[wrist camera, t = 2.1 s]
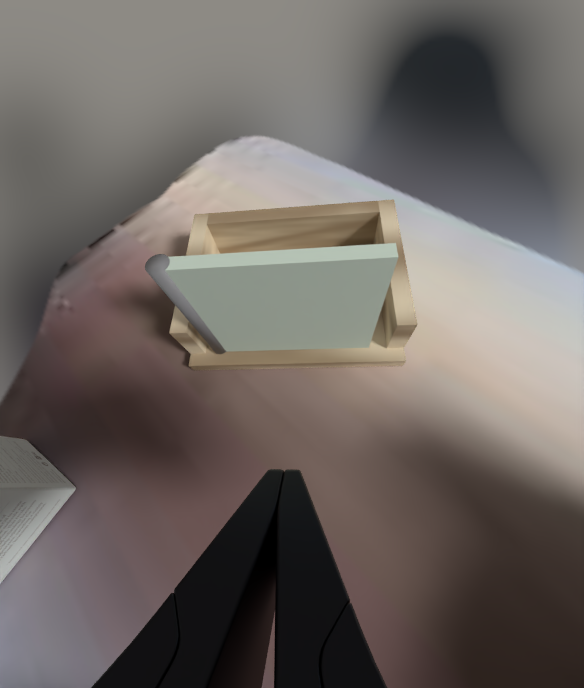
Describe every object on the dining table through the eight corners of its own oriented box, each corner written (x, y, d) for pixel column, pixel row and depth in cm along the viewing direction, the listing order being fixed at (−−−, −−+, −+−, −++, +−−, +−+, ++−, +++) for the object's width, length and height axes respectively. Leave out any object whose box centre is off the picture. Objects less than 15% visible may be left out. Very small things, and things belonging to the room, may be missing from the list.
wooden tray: (402, 365, 22) (420, 339, 18) (193, 370, 23) (166, 346, 19) (383, 242, 27) (393, 199, 23) (213, 252, 28) (194, 214, 24)
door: (369, 350, 21) (399, 260, 13) (212, 354, 22) (142, 275, 14) (367, 335, 22) (395, 239, 13) (214, 339, 23) (148, 254, 14)
